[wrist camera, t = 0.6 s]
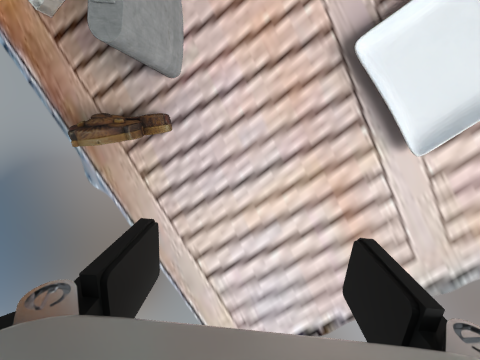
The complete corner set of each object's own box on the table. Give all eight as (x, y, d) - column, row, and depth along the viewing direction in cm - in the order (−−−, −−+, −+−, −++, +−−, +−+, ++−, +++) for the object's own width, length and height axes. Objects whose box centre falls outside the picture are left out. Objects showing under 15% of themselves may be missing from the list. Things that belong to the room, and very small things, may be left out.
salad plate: (342, 50, 35) (351, 43, 32) (476, -51, 31) (503, -72, 28) (403, 157, 39) (417, 160, 36) (530, 79, 35) (559, 74, 32)
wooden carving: (174, 104, 38) (148, 98, 29) (181, 130, 39) (158, 133, 30) (87, 123, 40) (35, 124, 30) (96, 148, 41) (49, 157, 31)
